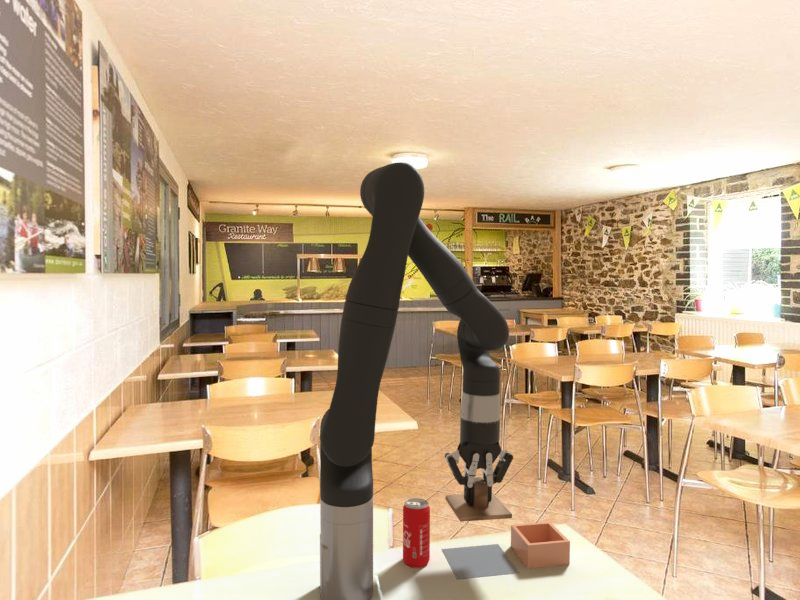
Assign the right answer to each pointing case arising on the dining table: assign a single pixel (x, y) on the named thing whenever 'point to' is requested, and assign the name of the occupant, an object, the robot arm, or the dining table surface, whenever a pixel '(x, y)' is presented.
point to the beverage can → (416, 532)
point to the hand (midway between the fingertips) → (477, 503)
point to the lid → (478, 505)
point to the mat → (479, 561)
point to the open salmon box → (540, 544)
